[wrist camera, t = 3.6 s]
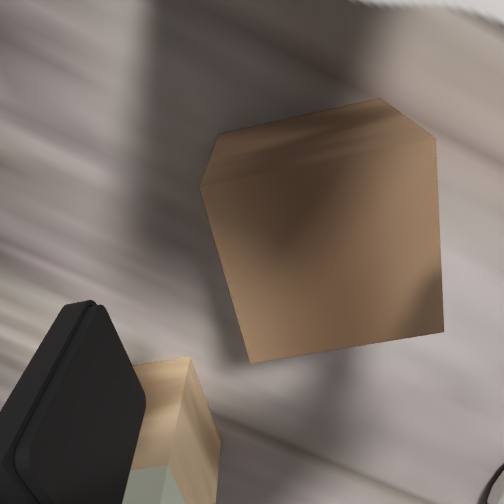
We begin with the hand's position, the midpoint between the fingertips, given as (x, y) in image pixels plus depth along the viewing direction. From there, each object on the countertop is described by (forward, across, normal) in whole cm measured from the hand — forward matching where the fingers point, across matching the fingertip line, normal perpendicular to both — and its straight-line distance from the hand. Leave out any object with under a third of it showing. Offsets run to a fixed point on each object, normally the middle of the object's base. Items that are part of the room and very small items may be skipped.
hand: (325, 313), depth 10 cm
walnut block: (+9, -1, +1) cm, 9 cm away
